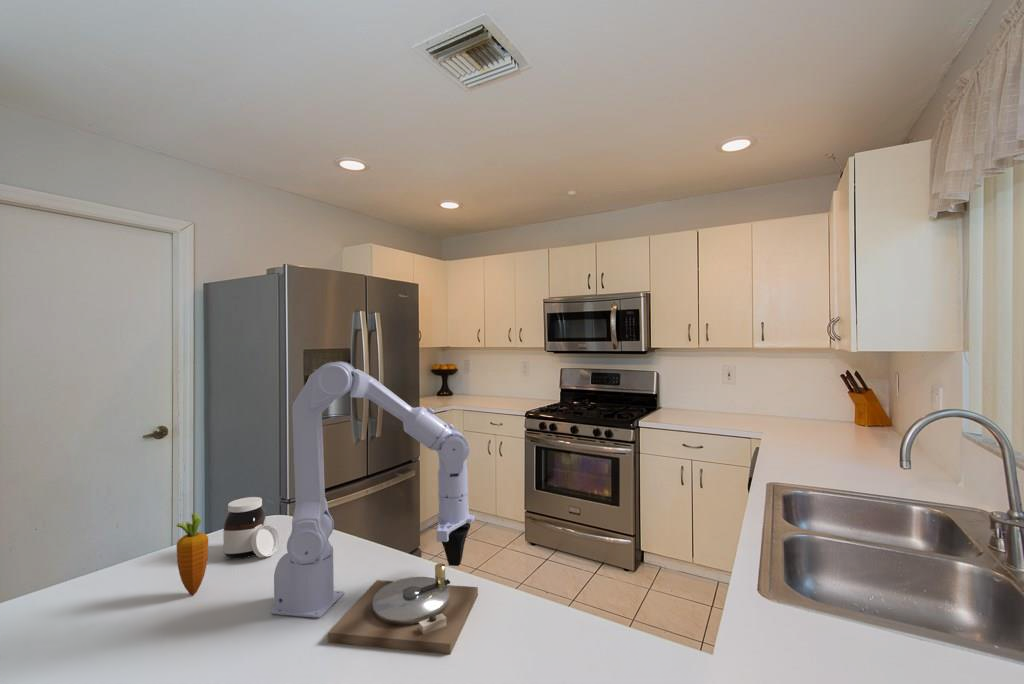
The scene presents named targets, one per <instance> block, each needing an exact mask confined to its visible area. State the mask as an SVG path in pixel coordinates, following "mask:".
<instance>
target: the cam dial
mask: <svg viewBox="0 0 1024 684" xmlns="http://www.w3.org/2000/svg"><path fill="white" fill-rule="evenodd" d="M450 584H451V580H449V579H448V578H447V579H446V565H445V563H437V564H435V566H434V578H433V577H428V576H413V577H412V576H411V577H407V578H402V579H398V580H396V581H395V582H392V583H390V584H388V585H386V586H384V587H383V588H381V589H380V590H379V591H378V592H377V593H376V594H375V596H374V598H373V613H374V615H375V616H376V617H377V618H378V619H379V620H381V621H383V622H386V623H390V624H396V625H407V624H414V623H419V622H420V621H423V620H426V619H428V618H430V616H431V615H435V616H436V615H438V614H440V613H441V612H442V611H443V610H444V609H445V608H446V607H447V605H448V603H449V600H450V599H449V588H448V586H447V585H450Z"/></svg>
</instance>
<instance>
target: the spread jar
mask: <svg viewBox="0 0 1024 684" xmlns="http://www.w3.org/2000/svg"><path fill="white" fill-rule="evenodd" d="M227 511H228V512H227V515H226V516H225V519H224V521H223V522H224V524H223V535H222V536H223V537H222V538H223V553H224V555H225V556H226V557H227V558H229V559H232V558H242V559H245V558H244V557H247V558H249V557H248V556H251V557H253V556H252V555H254V556H257V557H258V558H261V559H263V558H264V557H265V558H267V557H272V556H273V555H274V554H275V553H276V552H277V551H278V549H279V546H280V535H279V531H278V530H277V528H276V527H275V526H273V525H271V524H267V519H266V518H267V516H266V510H265V508H264V507H263V499H262V497H257V496H247V497H242V498H241V497H240V498H239V499H235V500H233V501H230V502H228V504H227ZM255 554H256V555H255ZM268 554H269V555H268Z"/></svg>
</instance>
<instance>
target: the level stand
mask: <svg viewBox="0 0 1024 684" xmlns="http://www.w3.org/2000/svg"><path fill="white" fill-rule="evenodd" d="M392 582H395V581H393V580H379V579H377V580H376V581H375V582H374V583H372V585H371V586H370V587H369V588H368V589H367V590H366V591H365V592H364V593H363V595H362V596H360V598H358V600H356V601H355V603H354V604H353V605H352V606H351V607H350V608H349V609H348V611H346V613H345V614H344V615H343V616H342V617H341V618H340V619H339V620H338V622H336V623H335V625H333V627H332V628H330V630H329V631H327V643H331V644H332V643H333V644H343V645H353V646H365V647H374V648H382V649H383V648H384V649H385V648H386V649H394V650H395V649H396V650H402V651H403V650H404V651H414V652H415V651H416V652H425V653H435V654H436V653H437V654H444V655H447V654H448V655H452V652H453V651H454V650H453V649H454V648H455V646H456V644H457V641H458V639H459V637H460V635H461V632H462V630H463V629H464V626H465V624H466V622H467V619H468V617H469V615H470V613H471V612H472V610H473V608H474V604H475V603H476V601H477V599H478V596H479V590H478V589H479V588H478V586H464V585H454V584H452V585H450V584H447V586H448V588H449V599H450V600H449V603H448V605H447V607H446V608H445V609H444V610H443V611H442V612H441V613H440V614H438V615H436V616H435V615H431V616H430V618H428V619H426V620H423V621H420V622H419V623H414V624H407V625H396V624H390V623H386V622H383V621H381V620H379V619H378V618H377V617H376V616H375V615H374V613H373V598H374V596H375V594H376V593H377V592H378V591H379V590H380V589H381V588H383V587H384V586H386V585H388V584H390V583H392Z"/></svg>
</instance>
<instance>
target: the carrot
mask: <svg viewBox="0 0 1024 684" xmlns="http://www.w3.org/2000/svg"><path fill="white" fill-rule="evenodd" d="M191 519H192V520H191V521H192V523H191V522H190V521H189V520H188V521H186V522H185V524H184V523H182V522H181V523H180V522H178V523H177V524H176V527H177V528H181V529H182V530H183V531H184V532H185V535H183V536H182V537H180V538H179V539H178V540H177V542H176V562H177V569H178V572H179V573H178V574H179V576H180V580H181V582H182V585H183V586H184V589H186V591H187V592H188V594H189V595H191V596H194V595H196V593H197V592H198V590H199V589H200V586H201V584H202V583H203V579H204V577H205V573H206V568H207V565H208V560H209V559H208V558H209V536H208V535H207V534H206V533H204V532H202V531H199V532H198V529H199V526H200V525H201V524H200V523H201V521H202V518H201V517H199V514H198V513H195V512H194V513H192V514H191Z"/></svg>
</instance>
